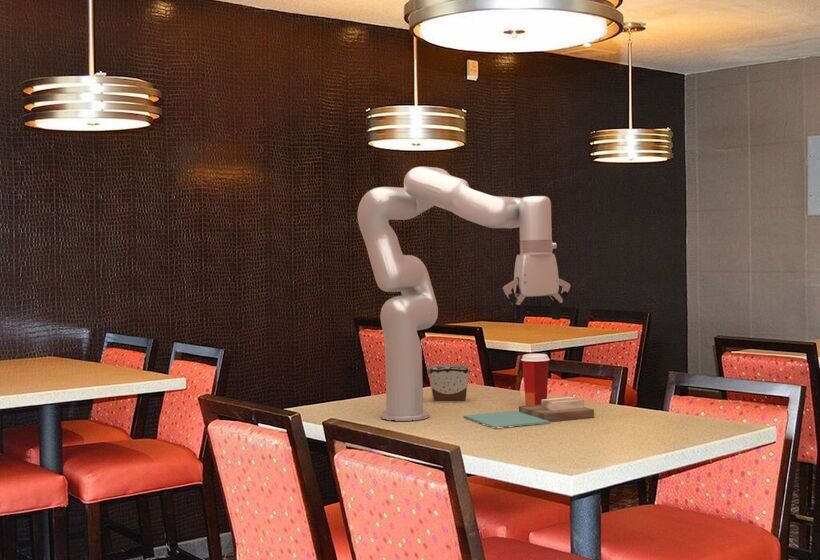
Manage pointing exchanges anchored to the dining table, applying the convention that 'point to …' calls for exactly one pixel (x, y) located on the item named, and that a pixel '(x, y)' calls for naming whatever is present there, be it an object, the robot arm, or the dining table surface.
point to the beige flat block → (562, 403)
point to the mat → (506, 419)
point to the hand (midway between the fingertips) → (537, 320)
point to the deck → (557, 413)
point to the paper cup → (535, 377)
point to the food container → (449, 382)
